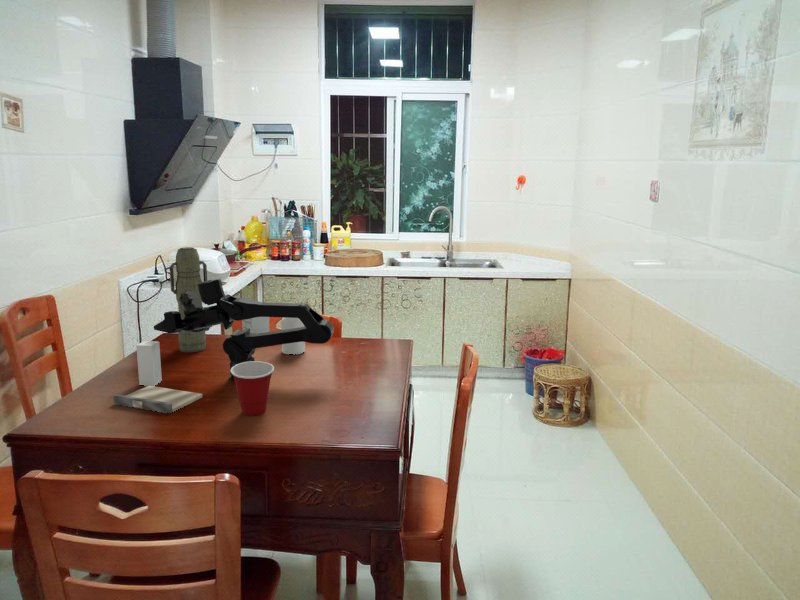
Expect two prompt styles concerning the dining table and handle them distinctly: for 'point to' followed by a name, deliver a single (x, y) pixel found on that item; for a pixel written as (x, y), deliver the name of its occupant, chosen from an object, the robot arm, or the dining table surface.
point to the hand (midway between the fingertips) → (163, 327)
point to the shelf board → (157, 399)
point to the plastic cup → (252, 385)
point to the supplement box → (256, 324)
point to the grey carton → (149, 363)
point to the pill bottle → (292, 347)
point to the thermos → (188, 282)
